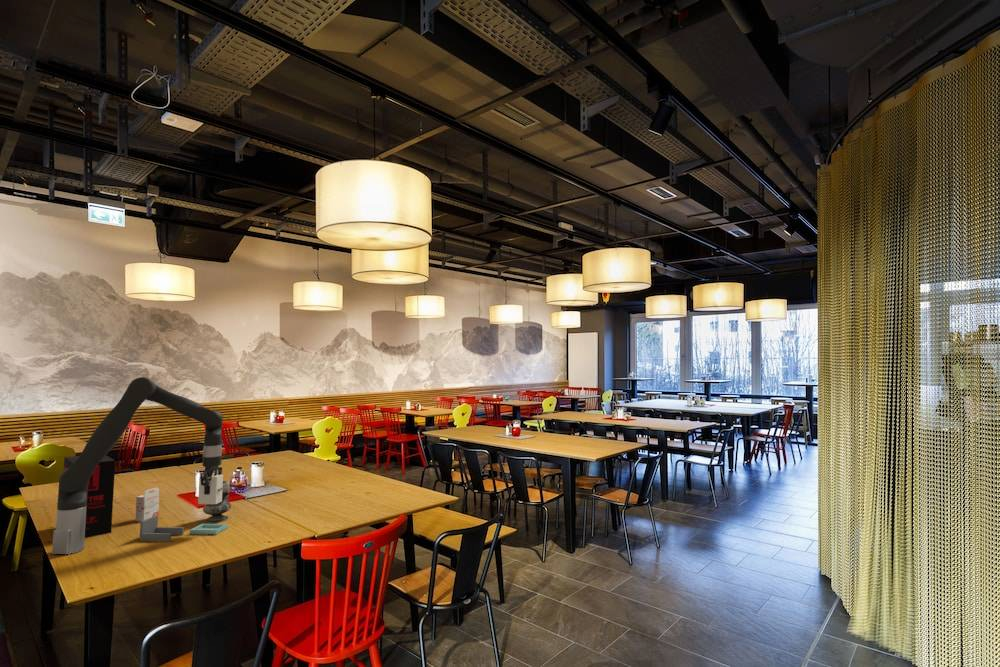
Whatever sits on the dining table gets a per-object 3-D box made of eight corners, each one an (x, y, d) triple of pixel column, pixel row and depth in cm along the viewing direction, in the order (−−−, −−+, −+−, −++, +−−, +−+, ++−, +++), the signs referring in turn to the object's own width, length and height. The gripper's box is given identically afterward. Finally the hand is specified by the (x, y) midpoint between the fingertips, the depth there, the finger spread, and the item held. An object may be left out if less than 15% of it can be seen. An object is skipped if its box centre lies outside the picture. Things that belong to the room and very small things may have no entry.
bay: (169, 541, 219) (170, 522, 220) (139, 540, 219) (140, 521, 220) (183, 534, 229) (184, 515, 229) (154, 533, 229) (155, 515, 229)
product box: (111, 532, 230) (115, 460, 232) (70, 540, 219) (74, 464, 221) (98, 520, 248) (102, 453, 250) (60, 527, 237) (64, 457, 239)
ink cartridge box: (150, 516, 255) (151, 486, 256) (158, 517, 254) (159, 486, 255) (134, 521, 247) (136, 490, 248) (143, 522, 246) (144, 490, 247)
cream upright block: (217, 504, 231) (218, 477, 232) (198, 503, 231) (199, 476, 232) (223, 501, 236) (224, 474, 237) (204, 501, 236) (206, 474, 237)
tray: (216, 534, 228) (216, 530, 228) (189, 534, 228) (190, 529, 228) (227, 528, 237) (227, 524, 237) (202, 528, 237) (202, 523, 237)
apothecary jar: (221, 514, 259) (223, 478, 260) (235, 518, 253) (237, 481, 254) (197, 520, 249) (198, 482, 250) (211, 524, 242) (213, 486, 244)
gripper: (211, 457, 228) (209, 496, 226) (229, 452, 242) (227, 489, 241) (194, 457, 228) (192, 496, 227) (213, 452, 242) (211, 489, 241)
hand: (210, 492), depth 234 cm, fingers closed on cream upright block, 5 cm apart
